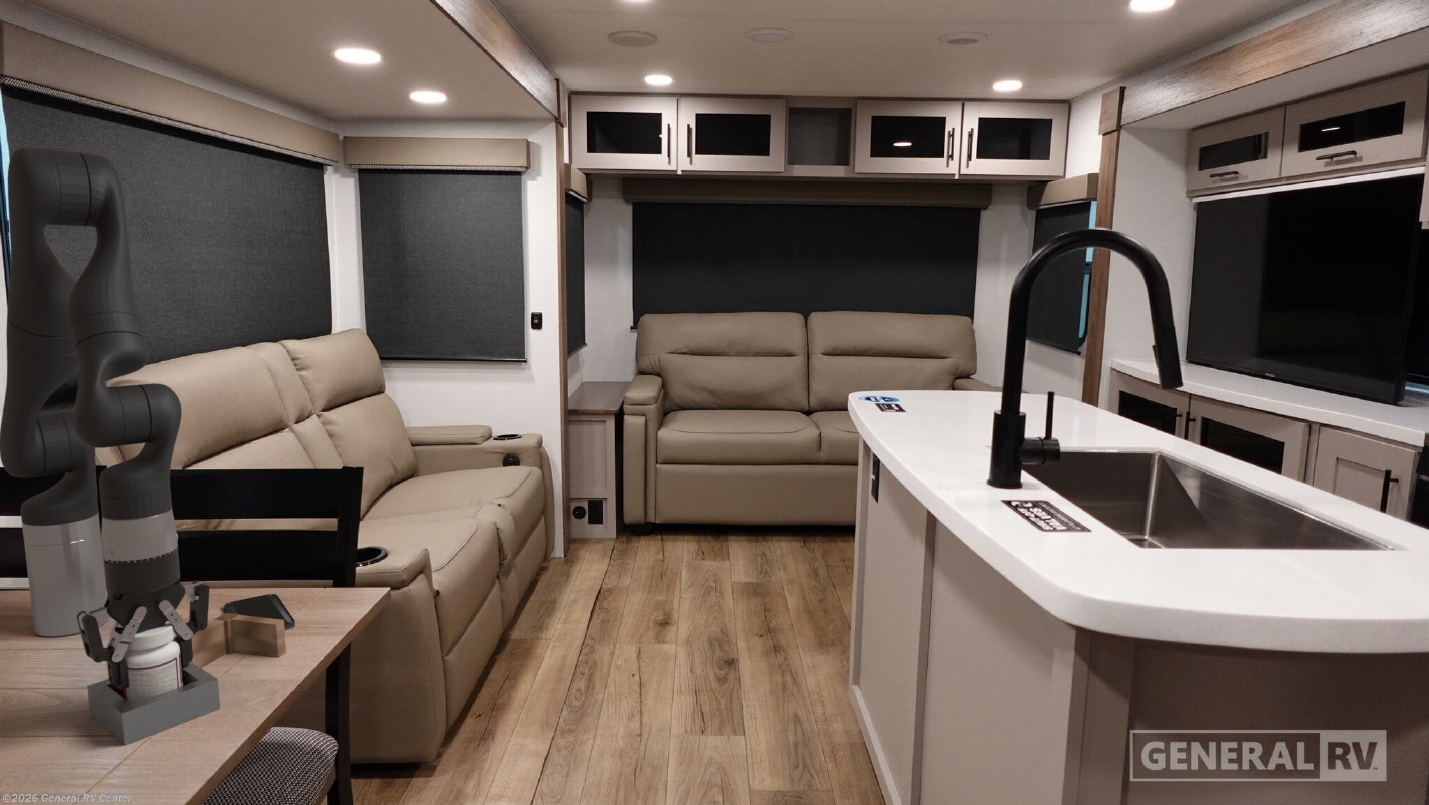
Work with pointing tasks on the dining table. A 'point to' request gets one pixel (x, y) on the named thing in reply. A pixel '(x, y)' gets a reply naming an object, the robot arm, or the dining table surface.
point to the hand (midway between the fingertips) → (152, 676)
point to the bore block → (153, 706)
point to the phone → (262, 609)
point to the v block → (238, 638)
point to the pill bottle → (152, 663)
